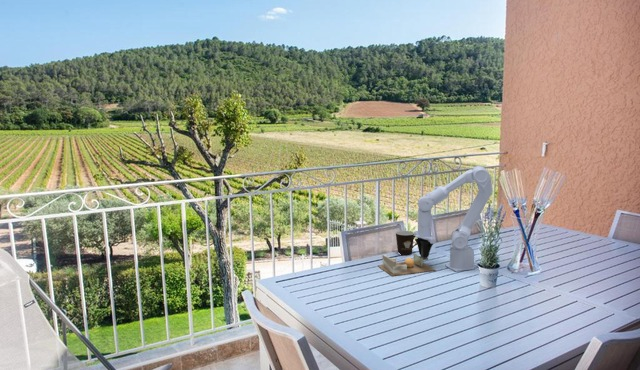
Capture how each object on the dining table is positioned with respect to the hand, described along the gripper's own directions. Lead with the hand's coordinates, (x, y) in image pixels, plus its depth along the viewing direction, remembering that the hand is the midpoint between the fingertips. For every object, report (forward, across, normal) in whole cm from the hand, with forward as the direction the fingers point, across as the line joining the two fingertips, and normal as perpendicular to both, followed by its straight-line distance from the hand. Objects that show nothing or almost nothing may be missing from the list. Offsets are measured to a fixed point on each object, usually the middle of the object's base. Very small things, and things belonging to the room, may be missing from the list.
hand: (424, 255), depth 206 cm
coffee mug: (+5, -19, +2) cm, 20 cm away
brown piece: (+5, 0, -8) cm, 10 cm away
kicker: (+3, 0, -1) cm, 4 cm away
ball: (+2, 0, -7) cm, 7 cm away
